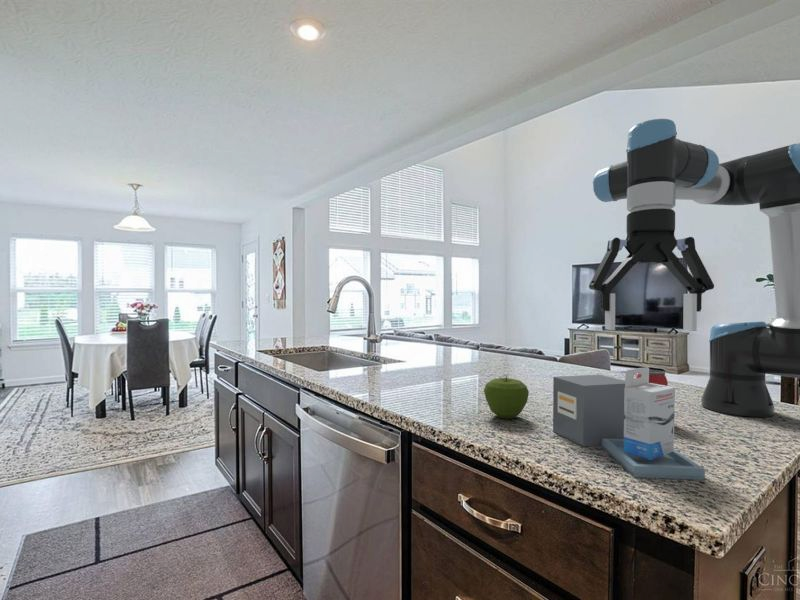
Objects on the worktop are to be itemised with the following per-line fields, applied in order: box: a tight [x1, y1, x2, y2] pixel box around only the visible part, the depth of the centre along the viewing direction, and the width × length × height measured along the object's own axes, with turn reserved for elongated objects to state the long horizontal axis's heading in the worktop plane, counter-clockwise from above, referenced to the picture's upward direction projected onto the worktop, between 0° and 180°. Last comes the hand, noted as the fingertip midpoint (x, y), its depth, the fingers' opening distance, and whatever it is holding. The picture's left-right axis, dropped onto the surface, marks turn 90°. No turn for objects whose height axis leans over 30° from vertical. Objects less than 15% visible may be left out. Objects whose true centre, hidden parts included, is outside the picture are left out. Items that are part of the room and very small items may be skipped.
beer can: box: [635, 369, 669, 386], centre depth 103 cm, size 7×7×12 cm
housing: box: [552, 374, 625, 447], centre depth 92 cm, size 13×10×12 cm
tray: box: [601, 438, 706, 481], centre depth 77 cm, size 11×14×2 cm
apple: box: [483, 376, 530, 420], centre depth 106 cm, size 11×10×10 cm
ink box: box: [624, 366, 676, 460], centre depth 77 cm, size 8×5×15 cm, turn 124°
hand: (649, 330), depth 77 cm, fingers open, 13 cm apart
